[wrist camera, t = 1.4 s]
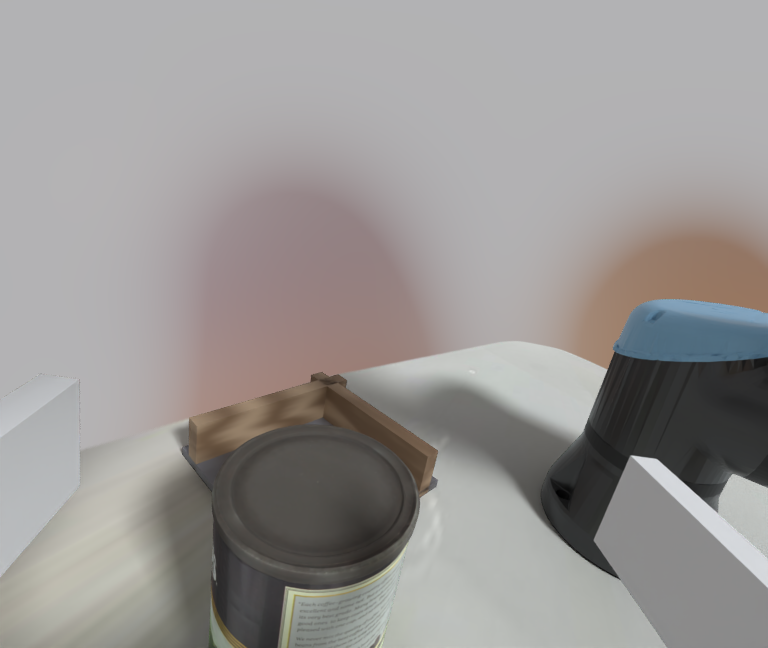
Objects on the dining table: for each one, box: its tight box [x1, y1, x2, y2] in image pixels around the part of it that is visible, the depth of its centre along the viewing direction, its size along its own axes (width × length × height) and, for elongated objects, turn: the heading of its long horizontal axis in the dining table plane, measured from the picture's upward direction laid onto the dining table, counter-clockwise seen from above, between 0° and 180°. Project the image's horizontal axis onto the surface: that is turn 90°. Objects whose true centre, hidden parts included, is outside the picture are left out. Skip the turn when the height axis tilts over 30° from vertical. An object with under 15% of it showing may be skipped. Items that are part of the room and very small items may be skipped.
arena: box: [182, 372, 438, 498], centre depth 42 cm, size 18×18×5 cm
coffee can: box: [209, 424, 420, 648], centre depth 24 cm, size 10×10×14 cm
